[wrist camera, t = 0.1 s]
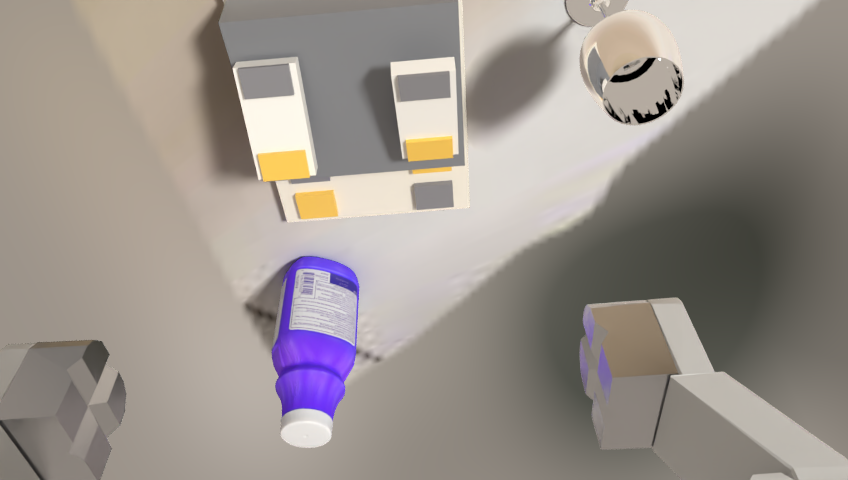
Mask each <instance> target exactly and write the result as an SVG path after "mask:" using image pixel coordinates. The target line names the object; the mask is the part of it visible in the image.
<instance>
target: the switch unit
mask: <svg viewBox="0 0 848 480" xmlns="http://www.w3.org/2000/svg"><path fill="white" fill-rule="evenodd" d="M223 3H224V8H223V11H222V14H221V17H220V20H219V22H218V23H219V27H220V30H221V33H222V37H223V40H224V43H225V47H226V50H227V53H228V56H229V60H230V63H231V66H232V68H233V66H234V65H235V63H236V62H242V61H253V60H265V59H276V58H288V57H298V61H299V67H300V72H301V78H302V83H303V89H304V94H305V100H306V105H307V111H308V116H309V122H310V127H311V133H312V138H313V144H314V149H315V155H316V160H317V166H318V169H317V173H316V175H313V176H310V178H301V179H289V180H277V181H275V182H276V185H277V188H278V192H279V195H280V199H281V202H282V206H283V209H284V212H285V216H286V219H287V223H289V222H301V221H313V220H326V219H338V218H350V217H363V216H375V215H388V214H400V213H412V212H425V211H437V210H449V209H462V208H470V199H469V171H468V144H467V116H466V89H465V61H464V34H463V6H462V0H223ZM446 57H454V59H455V68H456V91H457V121H458V151H459V154H455V155H453V158H446V159H434V160H422V161H410V162H408V158H407V159H403V158H402V151H401V144H400V137H399V130H398V122H397V115H396V108H395V101H394V93H393V86H392V79H391V62H399V61H411V60H422V59H434V58H446ZM232 70H233V69H232ZM266 182H272V181H266Z"/></svg>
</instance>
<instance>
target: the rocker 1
mask: <svg viewBox="0 0 848 480" xmlns="http://www.w3.org/2000/svg"><path fill="white" fill-rule="evenodd" d="M232 69H233V73H234V77H235V81H236V86H237V90H238V94H239V98H240V103H241V107H242V111H243V115H244V120H245V124H246V128H247V132H248V137H249V141H250V145H251V149H252V154H253V158H254V162H255V166H256V171H257V175H258V179H259V180H263V181H264V182H265V181H277V180H289V179H301V178H310V176H313V175H316V173H317V169H318V166H317V160H316V155H315V149H314V144H313V138H312V133H311V127H310V122H309V116H308V111H307V105H306V100H305V94H304V89H303V83H302V78H301V72H300V67H299V61H298V57H288V58H276V59H265V60H253V61H242V62H236V63H235V65H234V66H233V68H232Z"/></svg>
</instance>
